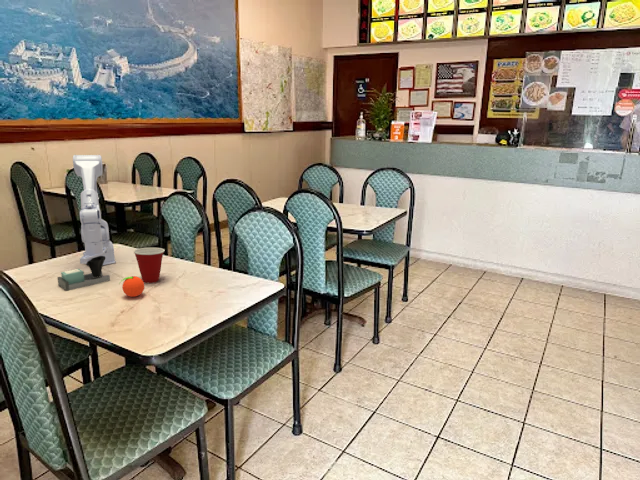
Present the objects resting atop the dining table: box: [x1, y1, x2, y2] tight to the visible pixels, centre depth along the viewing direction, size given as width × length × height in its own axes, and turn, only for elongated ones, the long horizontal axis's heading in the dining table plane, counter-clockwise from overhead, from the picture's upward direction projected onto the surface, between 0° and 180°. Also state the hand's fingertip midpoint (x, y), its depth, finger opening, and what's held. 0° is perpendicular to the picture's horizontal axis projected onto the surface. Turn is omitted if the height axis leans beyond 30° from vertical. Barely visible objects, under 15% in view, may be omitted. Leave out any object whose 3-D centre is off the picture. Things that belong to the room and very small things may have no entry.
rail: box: [57, 270, 111, 292], centre depth 163 cm, size 15×7×3 cm, turn 138°
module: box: [60, 268, 85, 284], centre depth 160 cm, size 6×4×5 cm, turn 138°
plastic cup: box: [132, 247, 166, 284], centre depth 166 cm, size 11×11×12 cm
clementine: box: [118, 276, 145, 298], centre depth 152 cm, size 8×7×7 cm
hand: (96, 276), depth 166 cm, fingers closed
